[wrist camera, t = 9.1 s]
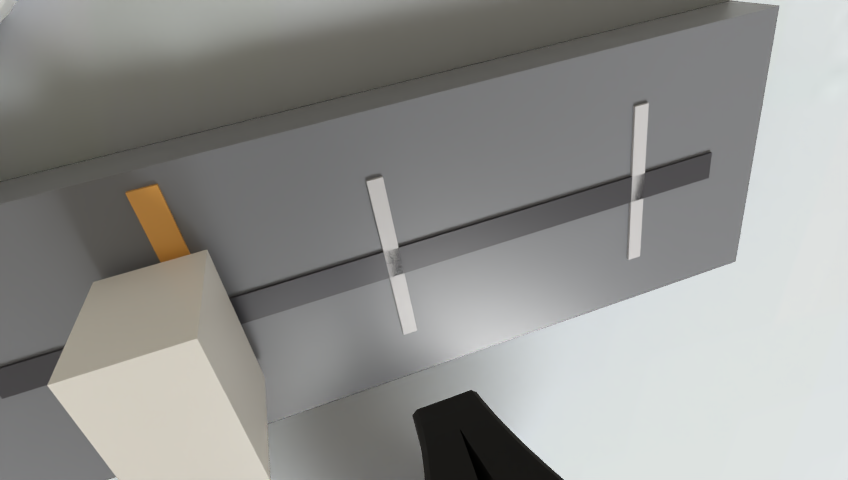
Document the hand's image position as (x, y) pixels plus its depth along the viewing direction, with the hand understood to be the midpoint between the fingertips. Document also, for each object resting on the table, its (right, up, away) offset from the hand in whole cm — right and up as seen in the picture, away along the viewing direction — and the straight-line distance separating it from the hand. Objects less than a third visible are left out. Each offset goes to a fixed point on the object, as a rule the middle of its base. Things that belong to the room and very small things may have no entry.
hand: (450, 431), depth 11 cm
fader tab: (-8, +1, +4) cm, 9 cm away
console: (-2, +4, +8) cm, 9 cm away
